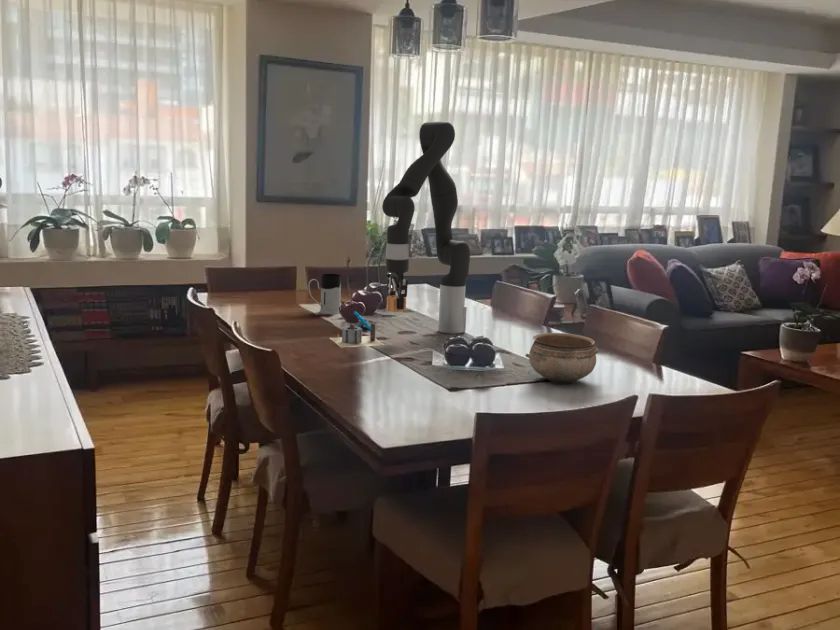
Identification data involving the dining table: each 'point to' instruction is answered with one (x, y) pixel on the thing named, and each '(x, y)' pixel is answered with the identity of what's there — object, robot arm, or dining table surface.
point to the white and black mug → (329, 293)
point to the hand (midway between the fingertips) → (396, 307)
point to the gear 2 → (394, 304)
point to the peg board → (365, 339)
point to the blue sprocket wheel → (362, 321)
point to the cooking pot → (562, 356)
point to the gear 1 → (352, 335)
